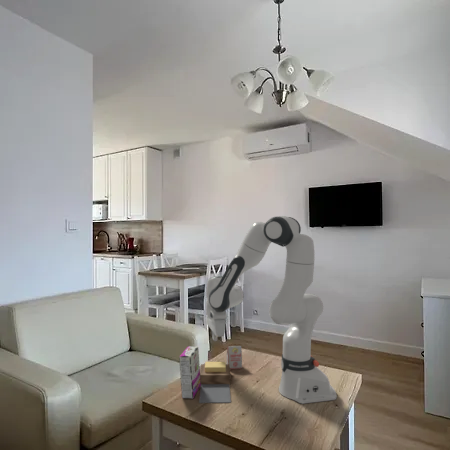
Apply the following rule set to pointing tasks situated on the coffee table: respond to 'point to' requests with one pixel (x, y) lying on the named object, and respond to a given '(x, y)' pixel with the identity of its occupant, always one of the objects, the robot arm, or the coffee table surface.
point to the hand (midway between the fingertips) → (214, 339)
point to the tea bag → (234, 357)
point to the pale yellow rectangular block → (215, 367)
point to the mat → (215, 393)
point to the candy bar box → (190, 372)
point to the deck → (215, 376)
